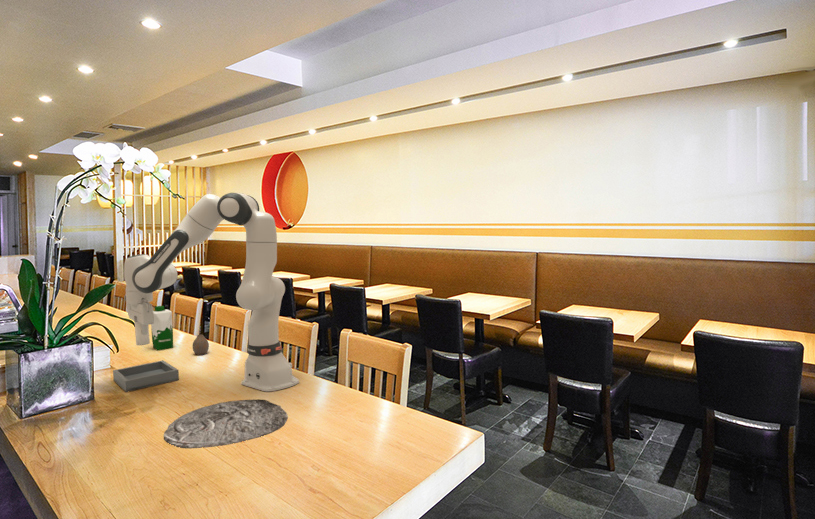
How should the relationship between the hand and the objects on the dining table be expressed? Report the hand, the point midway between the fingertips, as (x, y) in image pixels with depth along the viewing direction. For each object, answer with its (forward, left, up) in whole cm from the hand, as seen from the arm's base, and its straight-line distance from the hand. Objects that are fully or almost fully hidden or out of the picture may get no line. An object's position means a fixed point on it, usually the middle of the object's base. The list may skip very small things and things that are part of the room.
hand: (142, 333), depth 181 cm
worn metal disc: (-60, -6, -19) cm, 63 cm away
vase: (+22, -29, -19) cm, 41 cm away
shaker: (0, 0, -4) cm, 4 cm away
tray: (0, 0, -19) cm, 19 cm away
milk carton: (+46, -20, -19) cm, 54 cm away
